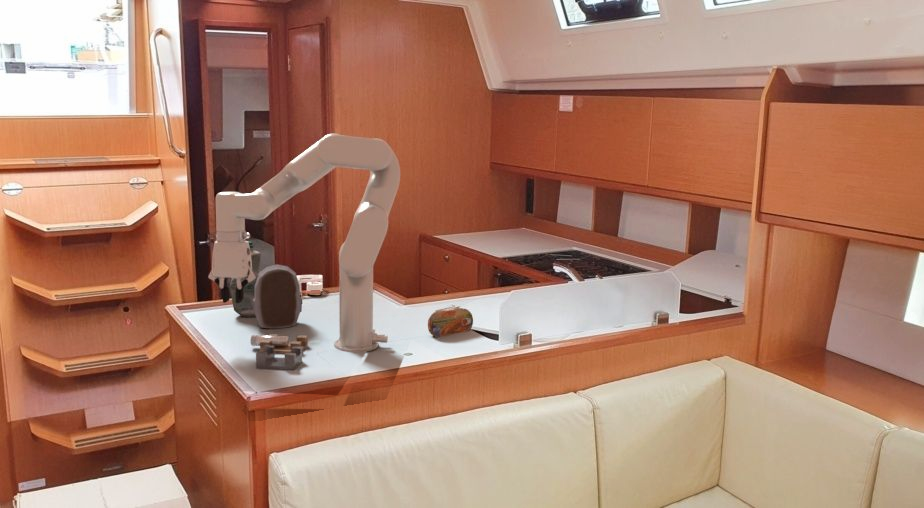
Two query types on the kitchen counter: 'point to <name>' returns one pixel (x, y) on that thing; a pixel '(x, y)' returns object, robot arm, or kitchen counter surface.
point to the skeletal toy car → (311, 282)
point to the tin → (450, 322)
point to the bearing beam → (283, 350)
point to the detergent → (246, 288)
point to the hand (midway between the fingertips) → (232, 301)
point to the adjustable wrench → (448, 308)
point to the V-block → (278, 359)
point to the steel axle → (275, 340)
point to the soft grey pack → (277, 297)
